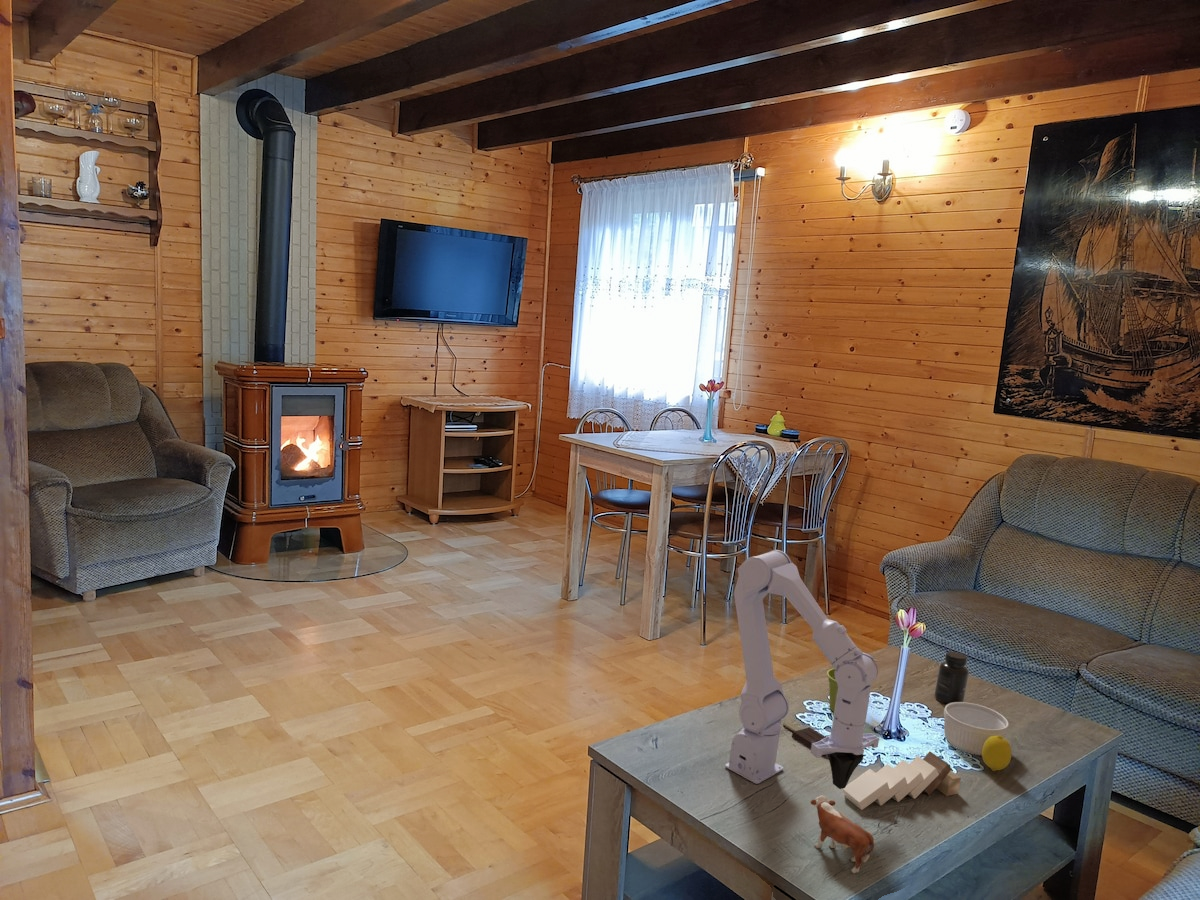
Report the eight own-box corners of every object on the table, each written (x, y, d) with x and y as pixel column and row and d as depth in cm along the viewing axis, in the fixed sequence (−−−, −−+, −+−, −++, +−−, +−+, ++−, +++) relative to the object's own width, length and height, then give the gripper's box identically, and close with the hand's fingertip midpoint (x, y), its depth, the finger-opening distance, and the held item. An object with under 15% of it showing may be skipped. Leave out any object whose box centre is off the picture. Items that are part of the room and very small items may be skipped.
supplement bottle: (967, 708, 212) (976, 662, 210) (940, 705, 212) (948, 659, 210) (957, 695, 219) (964, 650, 217) (930, 692, 219) (937, 648, 217)
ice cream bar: (775, 728, 193) (827, 760, 181) (776, 721, 193) (828, 753, 181) (791, 723, 196) (844, 755, 184) (792, 716, 196) (845, 748, 184)
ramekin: (942, 751, 189) (948, 721, 188) (936, 724, 202) (941, 696, 201) (1008, 765, 186) (1013, 735, 185) (997, 737, 198) (1003, 708, 197)
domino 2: (878, 798, 164) (905, 776, 166) (860, 784, 169) (887, 763, 171) (880, 805, 165) (907, 784, 167) (863, 792, 169) (889, 771, 171)
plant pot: (815, 710, 203) (821, 675, 201) (830, 697, 211) (835, 664, 209) (855, 724, 198) (860, 688, 196) (868, 710, 205) (873, 676, 204)
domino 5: (925, 790, 170) (947, 763, 171) (907, 777, 174) (929, 751, 175) (929, 795, 170) (952, 769, 172) (911, 782, 175) (933, 756, 176)
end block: (946, 795, 171) (949, 779, 170) (920, 777, 177) (923, 761, 177) (958, 793, 172) (960, 777, 172) (931, 774, 178) (934, 759, 178)
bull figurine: (815, 828, 156) (821, 787, 154) (874, 873, 145) (882, 829, 143) (797, 835, 153) (804, 792, 152) (856, 881, 142) (864, 836, 141)
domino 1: (859, 802, 162) (887, 781, 164) (842, 788, 167) (869, 768, 169) (861, 810, 163) (889, 789, 165) (844, 796, 167) (872, 776, 169)
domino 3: (895, 795, 166) (921, 772, 168) (877, 781, 170) (903, 759, 172) (898, 802, 167) (923, 779, 169) (880, 788, 171) (906, 766, 173)
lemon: (1005, 780, 179) (1012, 745, 178) (977, 771, 182) (983, 735, 180) (1009, 769, 184) (1015, 735, 182) (981, 760, 186) (987, 726, 185)
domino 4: (911, 792, 168) (935, 768, 169) (893, 779, 172) (917, 755, 174) (914, 799, 169) (939, 774, 170) (896, 785, 173) (920, 762, 174)
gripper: (833, 734, 154) (822, 803, 156) (894, 724, 160) (883, 791, 162) (807, 715, 160) (797, 782, 162) (868, 706, 166) (857, 771, 169)
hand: (838, 785), depth 163 cm, fingers closed
